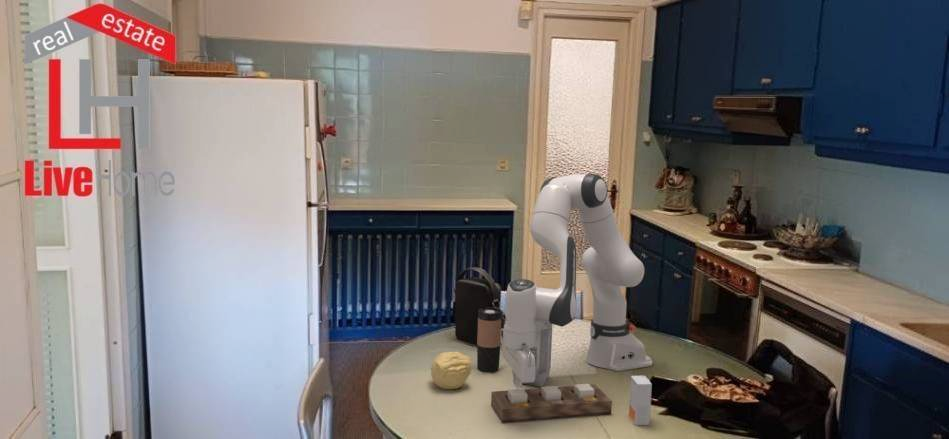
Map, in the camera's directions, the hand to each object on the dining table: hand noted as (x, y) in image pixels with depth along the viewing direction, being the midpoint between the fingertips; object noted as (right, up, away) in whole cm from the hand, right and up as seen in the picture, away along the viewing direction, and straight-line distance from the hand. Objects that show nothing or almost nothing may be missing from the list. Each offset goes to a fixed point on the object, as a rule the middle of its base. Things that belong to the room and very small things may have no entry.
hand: (517, 385), depth 191 cm
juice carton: (+7, -5, +24) cm, 26 cm away
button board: (+10, -8, +4) cm, 13 cm away
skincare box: (+34, -9, -2) cm, 35 cm away
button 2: (+20, -5, +5) cm, 21 cm away
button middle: (+10, -5, +3) cm, 11 cm away
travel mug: (-8, -3, +33) cm, 34 cm away
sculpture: (-20, -5, +19) cm, 28 cm away
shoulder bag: (-12, +2, +59) cm, 61 cm away
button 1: (0, -5, +1) cm, 5 cm away
